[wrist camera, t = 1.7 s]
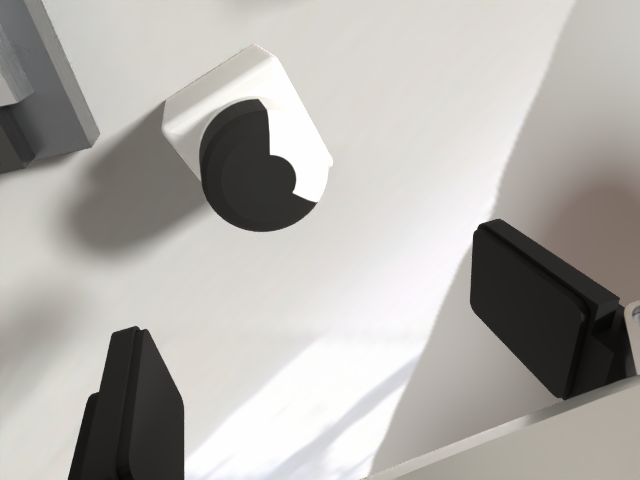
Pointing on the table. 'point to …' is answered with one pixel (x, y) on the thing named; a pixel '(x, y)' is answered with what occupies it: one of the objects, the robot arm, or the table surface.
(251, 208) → the medicine bottle
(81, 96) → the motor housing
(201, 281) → the table surface
